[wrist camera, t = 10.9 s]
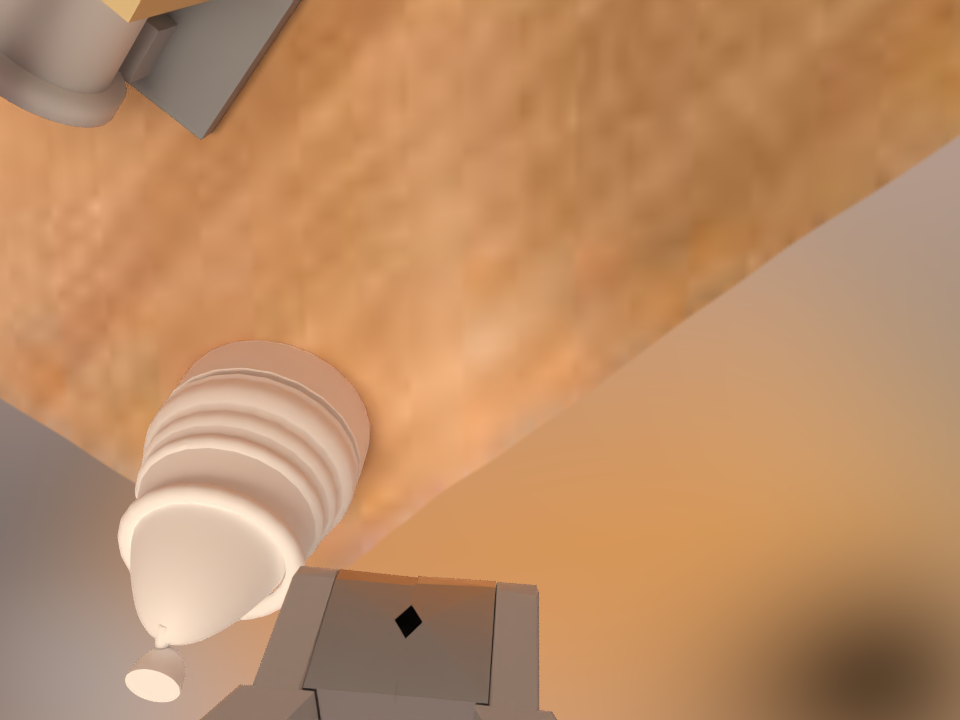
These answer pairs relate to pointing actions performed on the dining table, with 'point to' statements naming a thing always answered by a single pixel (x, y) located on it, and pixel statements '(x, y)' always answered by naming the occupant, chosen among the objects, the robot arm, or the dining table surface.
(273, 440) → the honey pot
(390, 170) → the dining table surface
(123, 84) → the valve
